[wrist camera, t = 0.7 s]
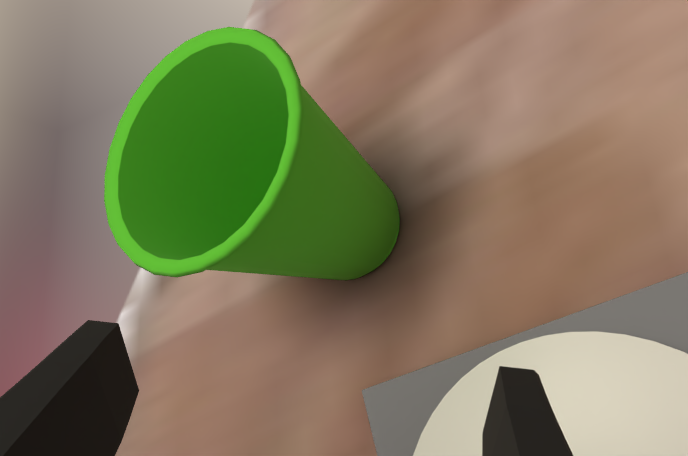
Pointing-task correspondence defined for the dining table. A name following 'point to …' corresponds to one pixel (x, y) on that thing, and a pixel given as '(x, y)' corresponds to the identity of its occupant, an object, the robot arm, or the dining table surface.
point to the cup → (241, 170)
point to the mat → (438, 379)
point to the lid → (578, 396)
